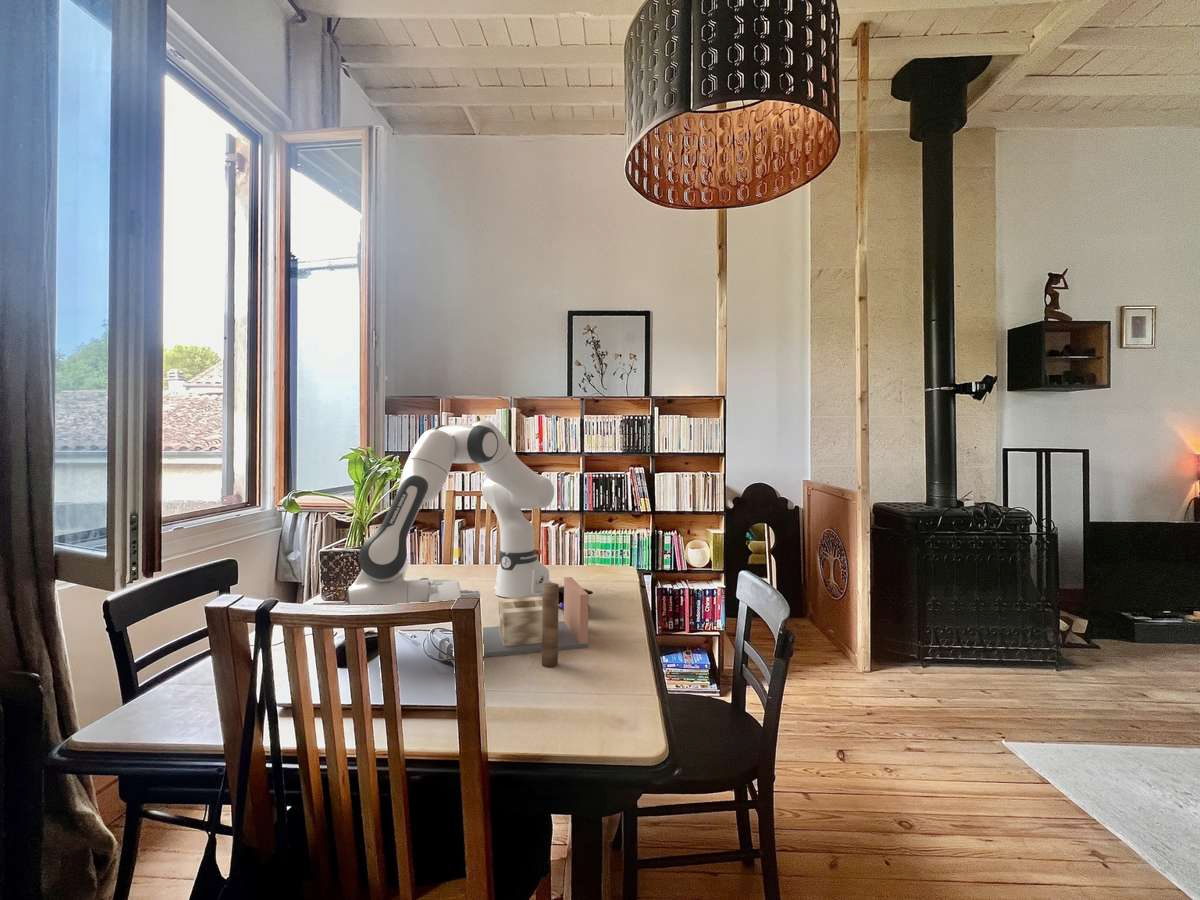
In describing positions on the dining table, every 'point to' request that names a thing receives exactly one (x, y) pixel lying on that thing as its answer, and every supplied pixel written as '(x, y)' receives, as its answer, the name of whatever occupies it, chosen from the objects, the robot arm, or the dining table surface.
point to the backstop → (569, 630)
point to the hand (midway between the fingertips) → (479, 595)
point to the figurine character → (561, 597)
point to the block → (520, 620)
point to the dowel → (550, 625)
